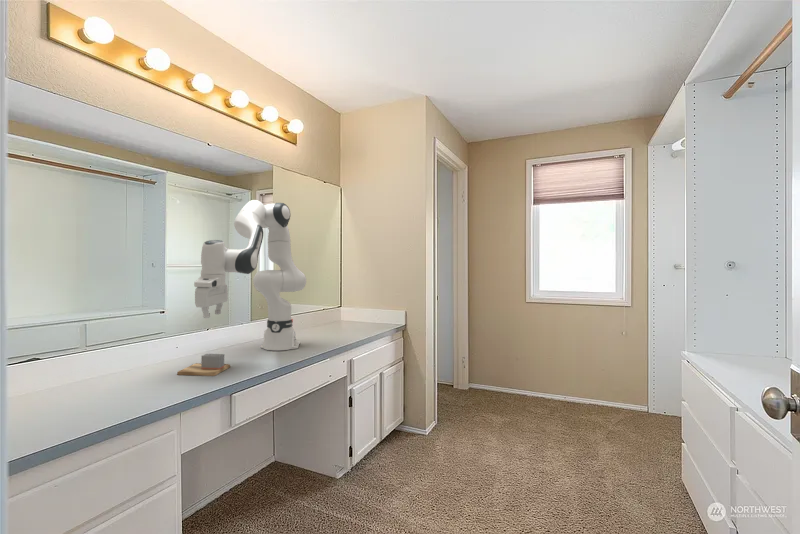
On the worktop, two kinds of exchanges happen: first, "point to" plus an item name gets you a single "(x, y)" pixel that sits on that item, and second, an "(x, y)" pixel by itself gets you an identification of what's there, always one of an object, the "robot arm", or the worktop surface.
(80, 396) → the worktop surface
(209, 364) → the sanding block
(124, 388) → the worktop surface
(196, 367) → the board
